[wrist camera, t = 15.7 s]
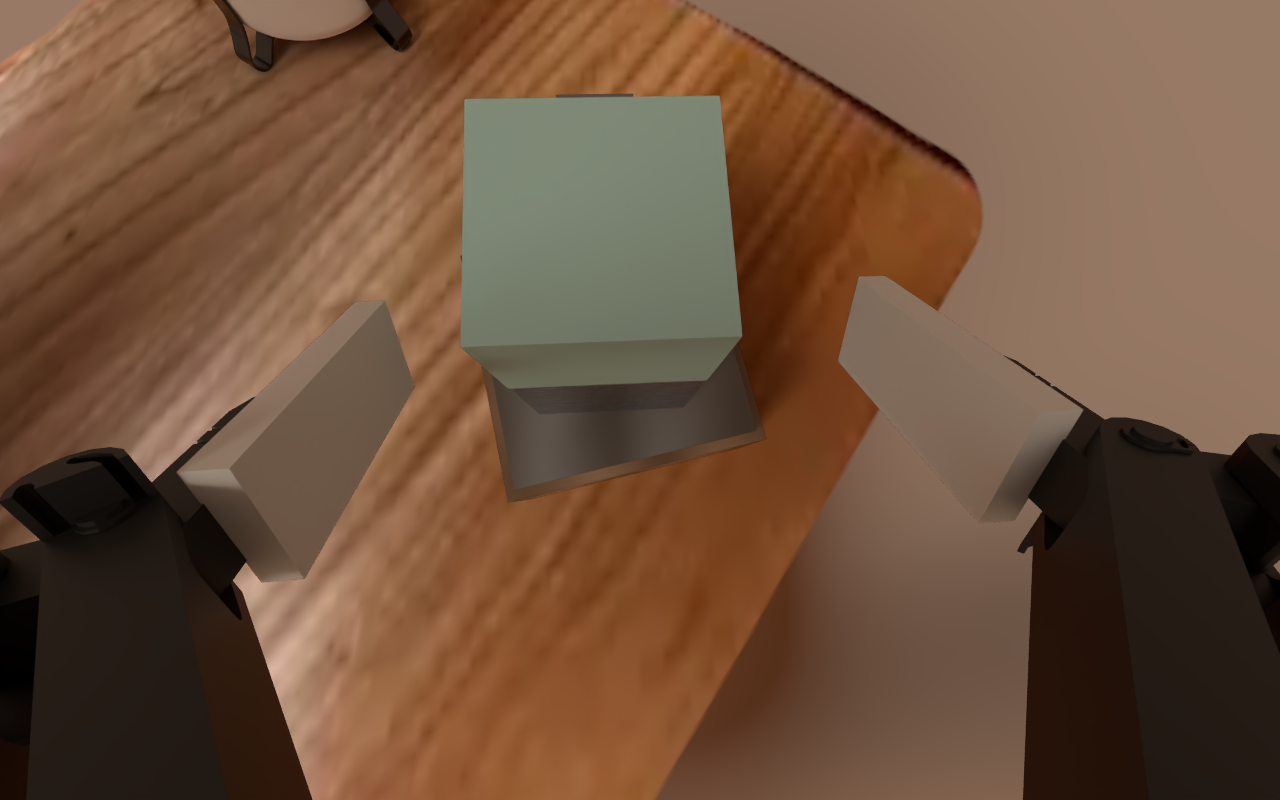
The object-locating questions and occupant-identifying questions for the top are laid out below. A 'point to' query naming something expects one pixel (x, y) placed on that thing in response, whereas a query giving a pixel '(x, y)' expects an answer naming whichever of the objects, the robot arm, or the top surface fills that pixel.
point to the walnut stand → (619, 434)
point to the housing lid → (597, 240)
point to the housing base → (609, 397)
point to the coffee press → (306, 23)
